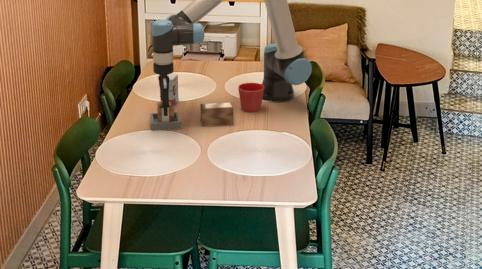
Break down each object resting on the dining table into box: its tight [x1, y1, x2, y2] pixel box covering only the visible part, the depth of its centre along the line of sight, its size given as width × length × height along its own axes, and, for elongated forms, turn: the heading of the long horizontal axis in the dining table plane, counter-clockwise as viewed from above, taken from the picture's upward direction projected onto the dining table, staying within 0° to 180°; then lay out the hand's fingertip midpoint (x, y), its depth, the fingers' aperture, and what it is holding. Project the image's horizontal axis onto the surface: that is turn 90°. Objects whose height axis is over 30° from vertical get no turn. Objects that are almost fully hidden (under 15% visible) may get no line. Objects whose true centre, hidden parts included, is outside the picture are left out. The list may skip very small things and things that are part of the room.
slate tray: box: [149, 111, 182, 131], centre depth 266 cm, size 11×11×3 cm
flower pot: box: [237, 82, 264, 113], centre depth 281 cm, size 11×11×10 cm
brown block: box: [156, 101, 175, 122], centre depth 264 cm, size 6×5×7 cm
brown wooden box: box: [199, 102, 234, 127], centre depth 267 cm, size 12×6×7 cm, turn 100°
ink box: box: [167, 73, 179, 106], centre depth 286 cm, size 9×5×12 cm, turn 168°
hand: (165, 120), depth 266 cm, fingers closed on brown block, 5 cm apart
